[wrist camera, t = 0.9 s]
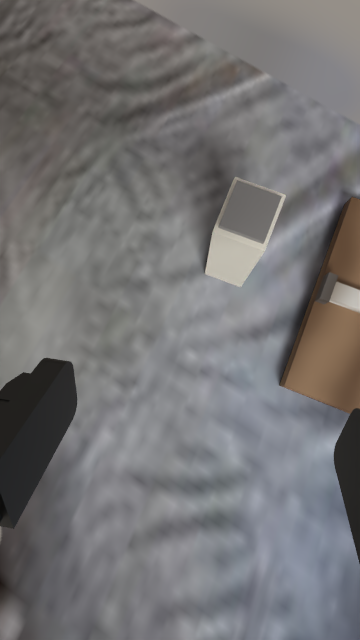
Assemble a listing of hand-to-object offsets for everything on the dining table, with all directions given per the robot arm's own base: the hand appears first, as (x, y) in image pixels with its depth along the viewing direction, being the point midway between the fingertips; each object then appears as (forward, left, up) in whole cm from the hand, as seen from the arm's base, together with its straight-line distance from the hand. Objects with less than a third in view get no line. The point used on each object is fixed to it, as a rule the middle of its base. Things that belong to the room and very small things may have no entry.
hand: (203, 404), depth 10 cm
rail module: (-1, +11, -21) cm, 24 cm away
